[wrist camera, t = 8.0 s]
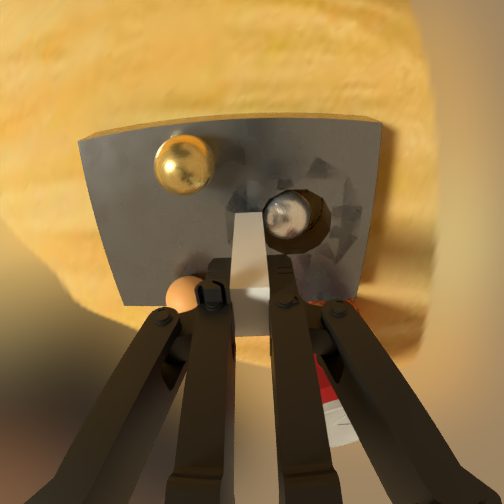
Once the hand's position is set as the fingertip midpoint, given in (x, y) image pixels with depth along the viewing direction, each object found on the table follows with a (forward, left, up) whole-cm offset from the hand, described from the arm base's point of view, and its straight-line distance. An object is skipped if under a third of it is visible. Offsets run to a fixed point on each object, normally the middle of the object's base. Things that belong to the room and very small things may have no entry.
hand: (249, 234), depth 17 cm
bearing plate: (0, -1, -4) cm, 4 cm away
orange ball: (+5, -4, 0) cm, 6 cm away
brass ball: (-4, -3, 0) cm, 5 cm away
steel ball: (0, +2, -2) cm, 3 cm away
